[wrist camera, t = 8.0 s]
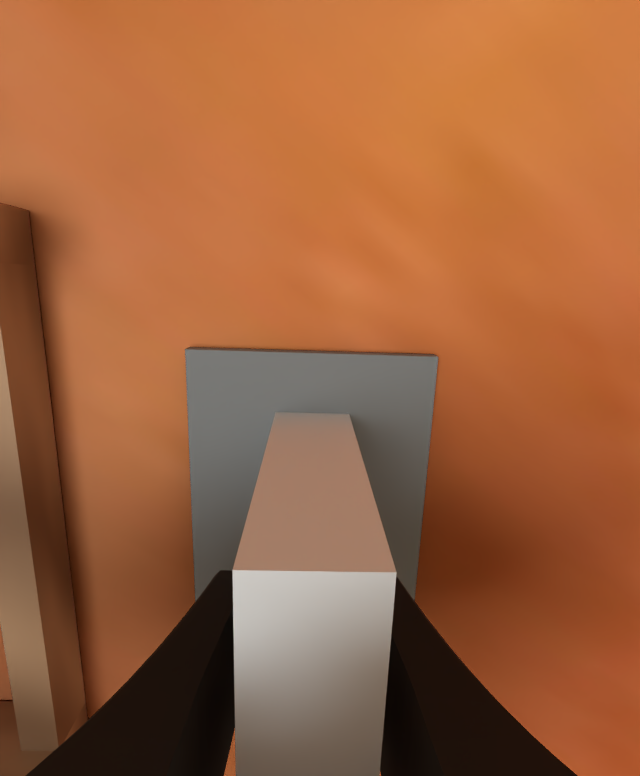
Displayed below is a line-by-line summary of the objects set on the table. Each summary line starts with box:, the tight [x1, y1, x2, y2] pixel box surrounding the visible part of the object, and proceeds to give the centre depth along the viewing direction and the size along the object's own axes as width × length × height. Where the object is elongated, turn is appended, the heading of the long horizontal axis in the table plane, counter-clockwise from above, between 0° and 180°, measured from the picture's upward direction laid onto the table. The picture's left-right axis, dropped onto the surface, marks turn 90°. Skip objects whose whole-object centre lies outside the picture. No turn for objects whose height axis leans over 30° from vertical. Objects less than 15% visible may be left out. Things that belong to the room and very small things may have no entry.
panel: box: [232, 412, 397, 776], centre depth 9 cm, size 8×2×6 cm, turn 178°
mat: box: [185, 347, 438, 602], centre depth 12 cm, size 11×6×1 cm, turn 178°
